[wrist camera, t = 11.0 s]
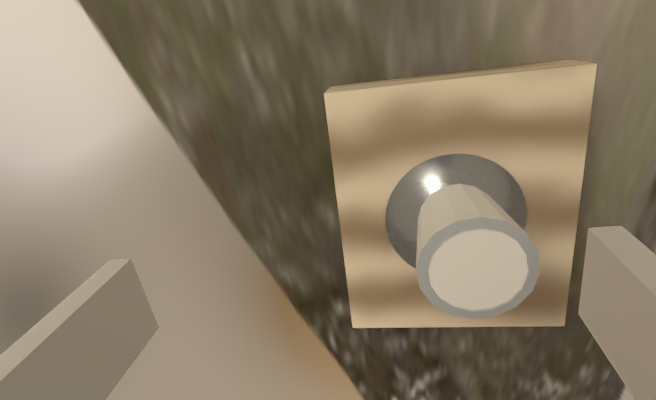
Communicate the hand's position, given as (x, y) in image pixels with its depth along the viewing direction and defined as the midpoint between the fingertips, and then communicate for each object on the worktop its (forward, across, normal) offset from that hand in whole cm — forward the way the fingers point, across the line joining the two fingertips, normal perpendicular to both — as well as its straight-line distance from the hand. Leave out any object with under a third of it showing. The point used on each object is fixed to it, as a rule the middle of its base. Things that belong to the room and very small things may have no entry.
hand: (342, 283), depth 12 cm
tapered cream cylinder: (+18, +6, -7) cm, 20 cm away
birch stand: (+22, +6, -7) cm, 23 cm away
